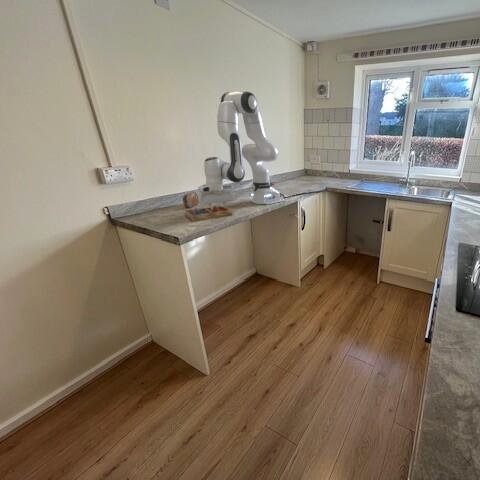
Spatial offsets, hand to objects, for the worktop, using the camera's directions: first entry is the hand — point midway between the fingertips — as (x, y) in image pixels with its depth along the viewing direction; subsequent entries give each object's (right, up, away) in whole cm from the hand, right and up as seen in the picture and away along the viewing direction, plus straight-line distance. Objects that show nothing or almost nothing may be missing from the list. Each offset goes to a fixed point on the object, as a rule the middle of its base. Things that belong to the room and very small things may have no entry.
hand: (217, 209), depth 154 cm
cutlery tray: (-4, -3, -2) cm, 6 cm away
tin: (-23, +4, +15) cm, 28 cm away
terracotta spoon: (0, -1, 0) cm, 2 cm away
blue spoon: (-8, -4, -6) cm, 11 cm away
